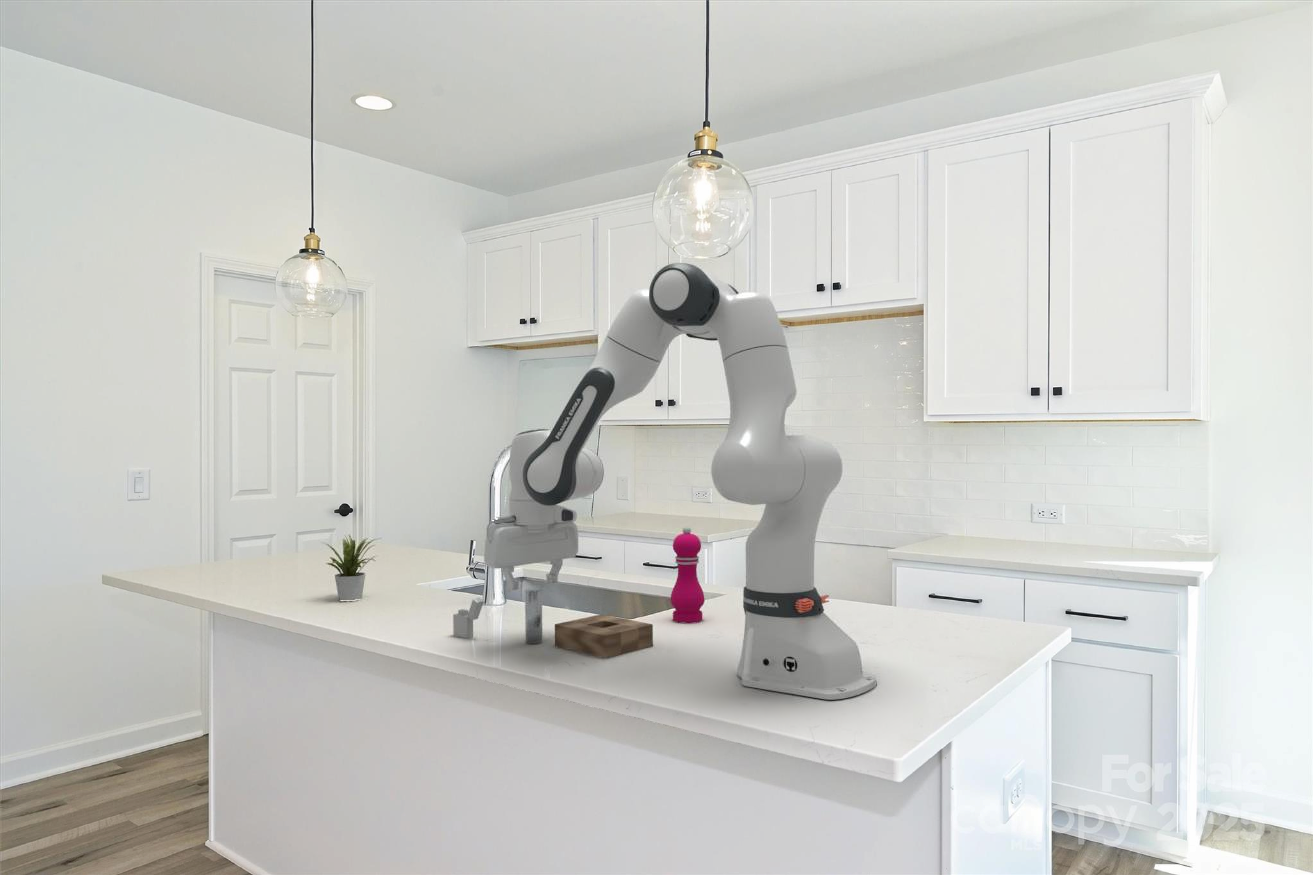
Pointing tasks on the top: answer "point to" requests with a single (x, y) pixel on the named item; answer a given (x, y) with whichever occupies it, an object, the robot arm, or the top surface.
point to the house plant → (350, 570)
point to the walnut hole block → (603, 635)
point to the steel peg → (533, 616)
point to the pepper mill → (687, 579)
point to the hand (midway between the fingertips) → (532, 586)
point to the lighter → (466, 619)
